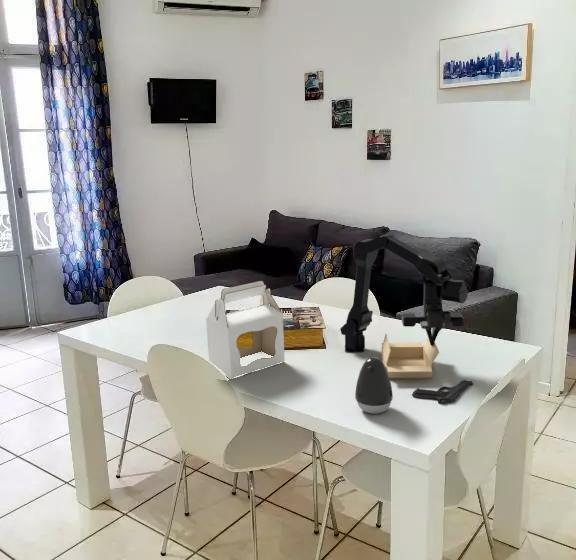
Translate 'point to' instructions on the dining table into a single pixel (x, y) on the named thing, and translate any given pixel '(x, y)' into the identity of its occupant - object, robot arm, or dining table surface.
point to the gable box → (245, 330)
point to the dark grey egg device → (373, 387)
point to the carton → (408, 361)
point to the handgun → (443, 392)
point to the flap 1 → (386, 348)
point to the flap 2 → (431, 350)
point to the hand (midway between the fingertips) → (431, 345)
